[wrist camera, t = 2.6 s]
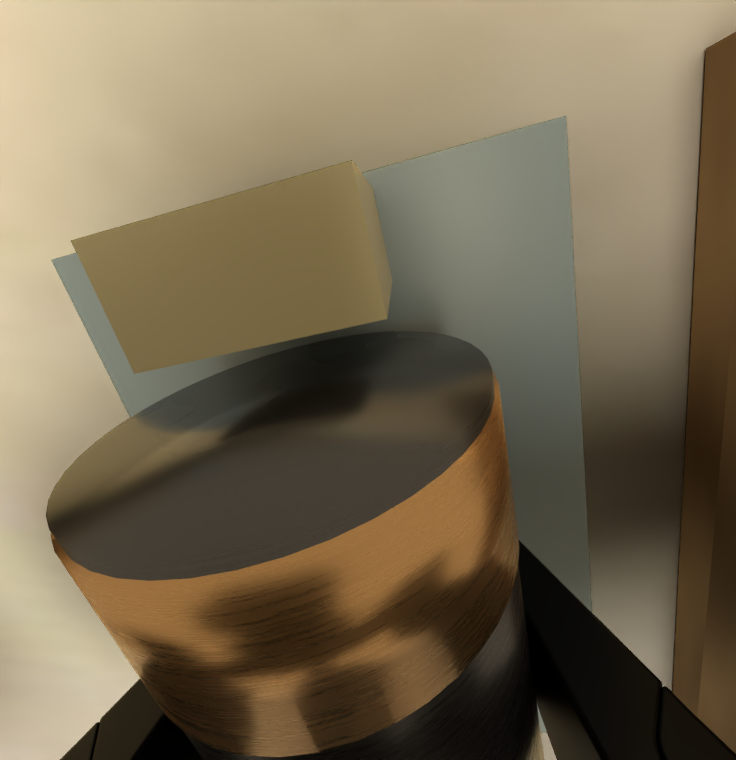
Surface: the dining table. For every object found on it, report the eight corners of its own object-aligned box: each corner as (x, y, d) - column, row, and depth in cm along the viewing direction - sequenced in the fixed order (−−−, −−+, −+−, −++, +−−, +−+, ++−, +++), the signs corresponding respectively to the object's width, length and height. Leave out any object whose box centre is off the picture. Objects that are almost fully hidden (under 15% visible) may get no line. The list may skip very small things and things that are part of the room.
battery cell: (517, 678, 10) (615, 1062, 6) (332, 691, 11) (282, 1037, 6) (460, 309, 7) (593, 508, 2) (196, 367, 8) (-131, 602, 3)
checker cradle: (582, 689, 12) (665, 901, 8) (301, 708, 13) (263, 895, 10) (543, 130, 7) (717, 17, 3) (91, 256, 8) (-167, 282, 4)
